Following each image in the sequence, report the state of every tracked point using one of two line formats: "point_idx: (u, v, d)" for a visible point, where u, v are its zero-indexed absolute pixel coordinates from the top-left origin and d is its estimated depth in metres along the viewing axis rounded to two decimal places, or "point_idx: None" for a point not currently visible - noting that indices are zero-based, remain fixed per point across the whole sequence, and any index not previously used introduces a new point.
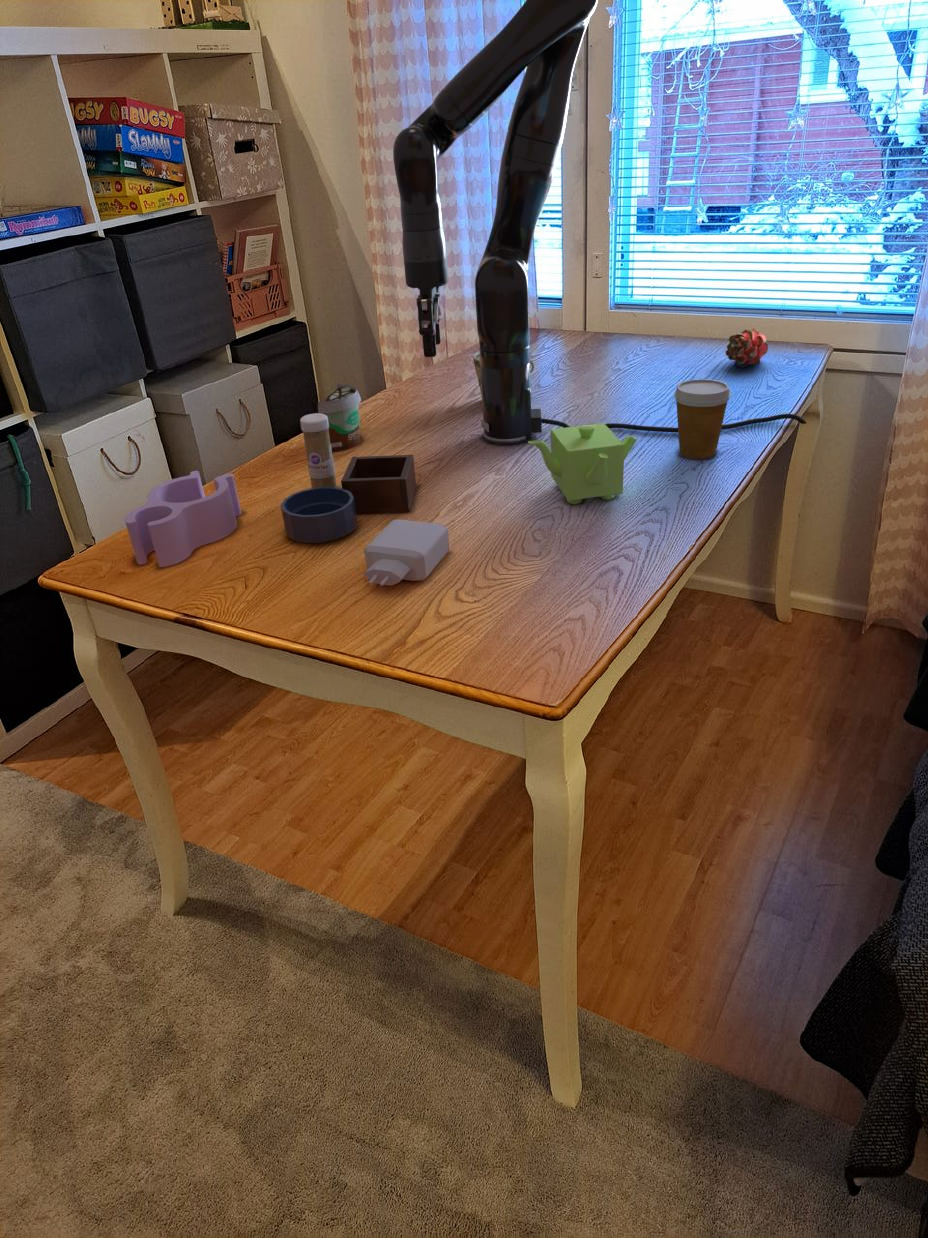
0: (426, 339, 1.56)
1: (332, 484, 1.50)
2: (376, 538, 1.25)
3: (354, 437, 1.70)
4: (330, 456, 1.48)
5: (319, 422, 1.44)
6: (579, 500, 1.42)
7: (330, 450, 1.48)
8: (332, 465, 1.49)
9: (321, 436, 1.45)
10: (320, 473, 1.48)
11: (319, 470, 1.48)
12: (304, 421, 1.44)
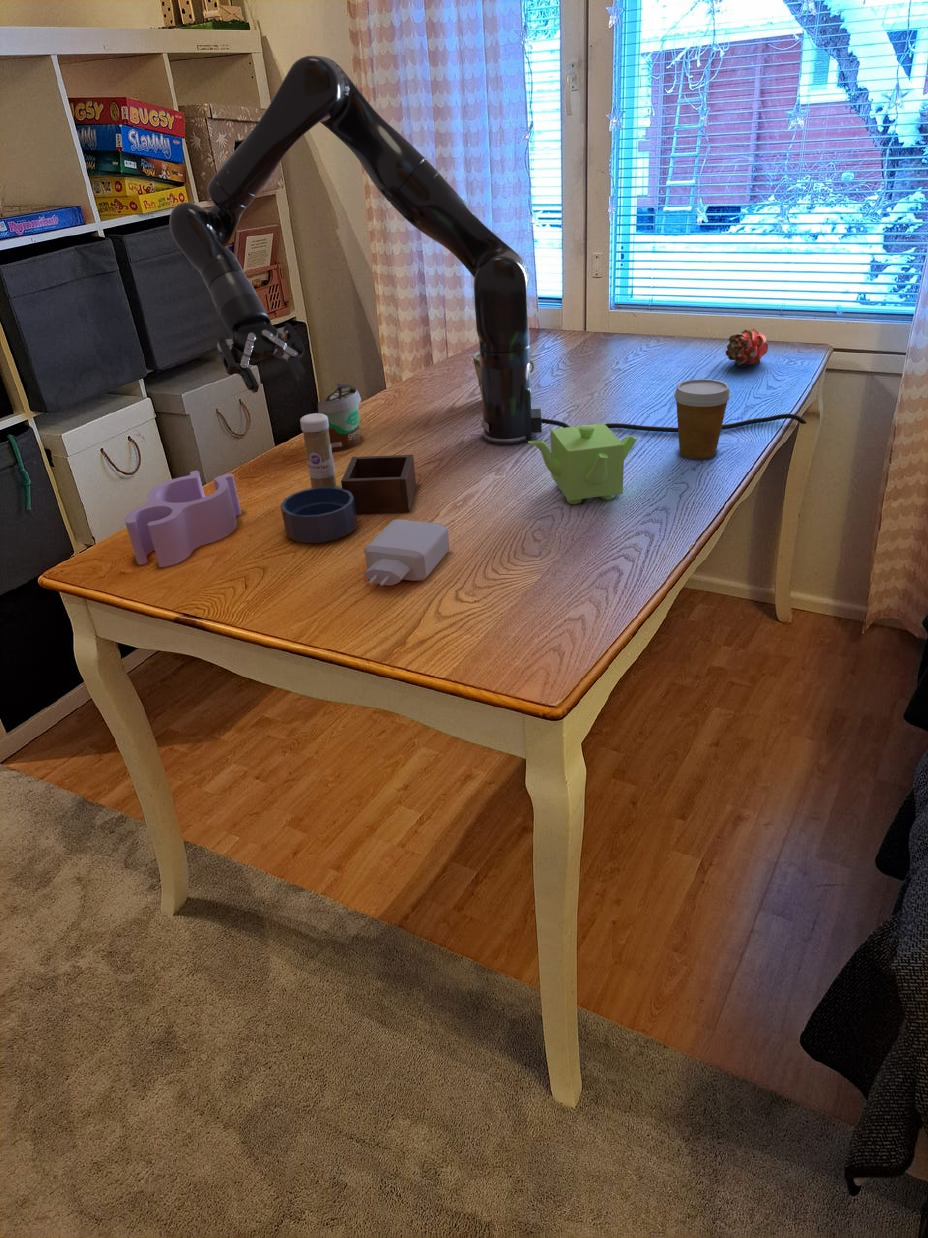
0: (242, 376, 1.50)
1: (332, 484, 1.50)
2: (376, 538, 1.25)
3: (354, 437, 1.70)
4: (330, 456, 1.48)
5: (319, 422, 1.44)
6: (579, 500, 1.42)
7: (330, 450, 1.48)
8: (332, 465, 1.49)
9: (321, 436, 1.45)
10: (320, 473, 1.48)
11: (319, 470, 1.48)
12: (304, 421, 1.44)
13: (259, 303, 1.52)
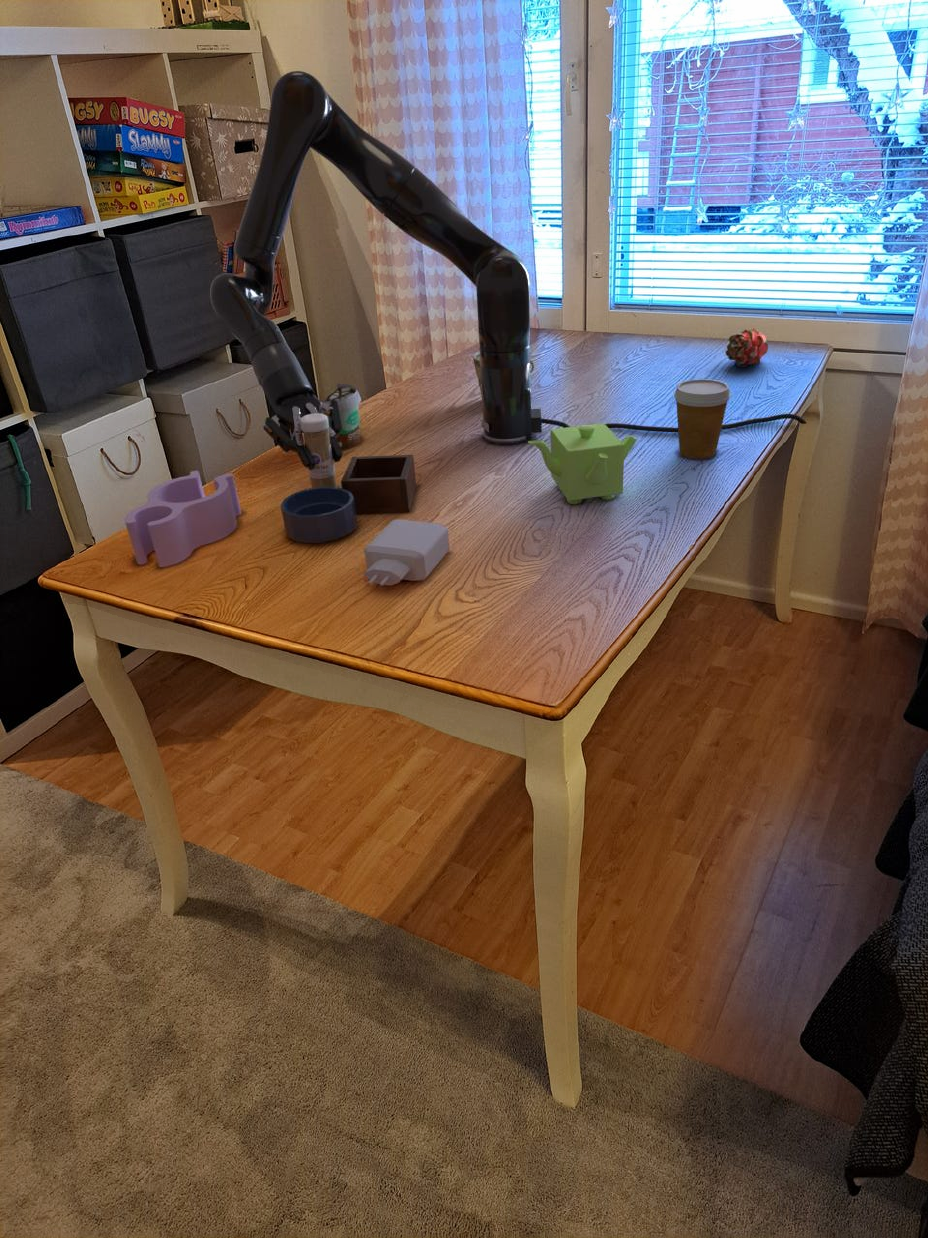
0: (298, 453, 1.47)
1: (332, 484, 1.50)
2: (376, 538, 1.25)
3: (354, 437, 1.70)
4: (330, 456, 1.48)
5: (319, 422, 1.44)
6: (579, 500, 1.42)
7: (330, 450, 1.48)
8: (332, 465, 1.49)
9: (321, 436, 1.45)
10: (320, 473, 1.48)
11: (319, 470, 1.48)
12: (304, 421, 1.44)
13: (303, 375, 1.48)
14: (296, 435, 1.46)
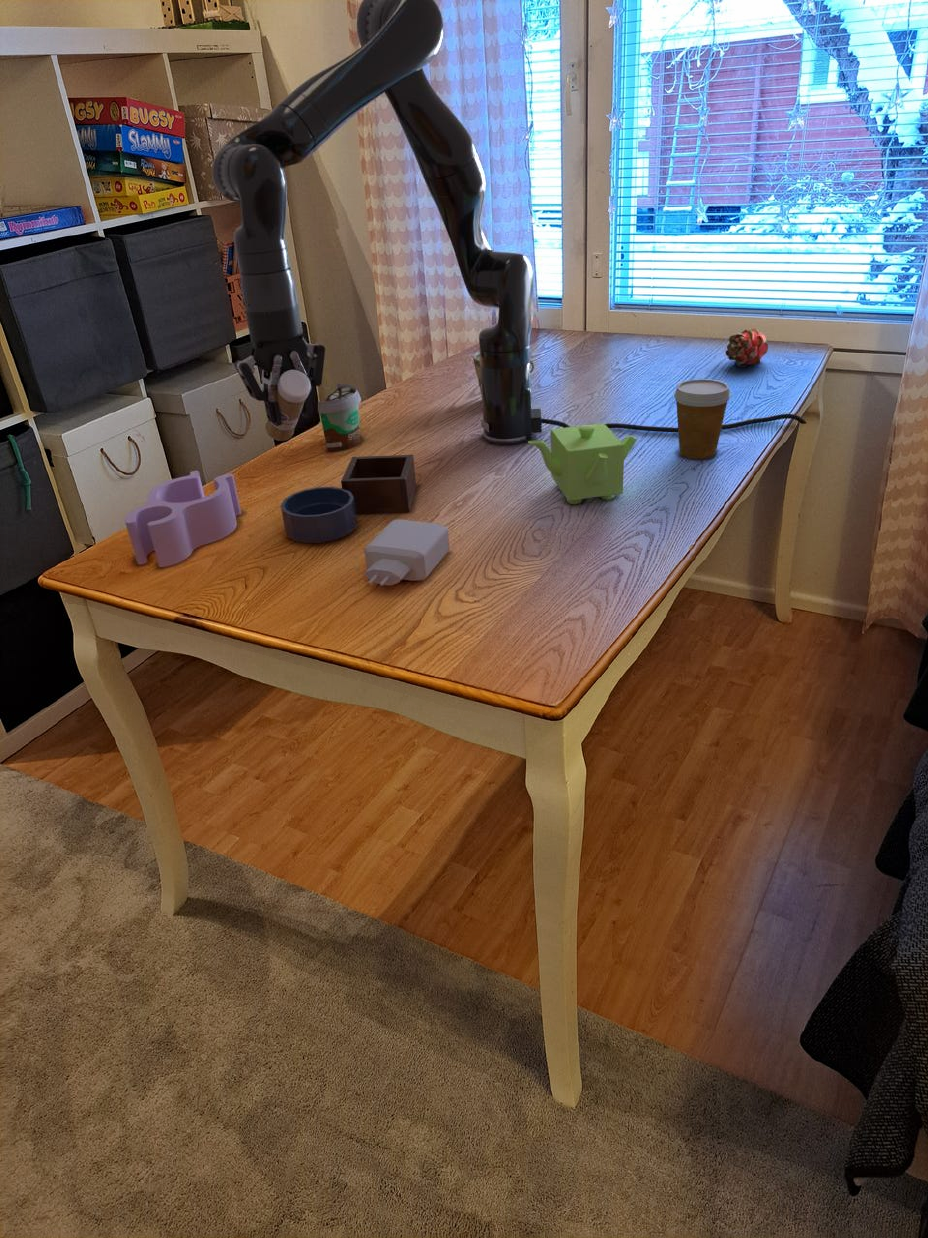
0: (265, 404, 1.30)
1: (290, 433, 1.37)
2: (376, 538, 1.25)
3: (354, 437, 1.70)
4: (299, 415, 1.33)
5: (301, 396, 1.27)
6: (579, 500, 1.42)
7: (301, 410, 1.33)
8: (297, 420, 1.35)
9: (297, 404, 1.29)
10: (283, 427, 1.34)
11: (282, 424, 1.34)
12: (284, 389, 1.26)
13: (297, 318, 1.25)
14: (270, 389, 1.28)
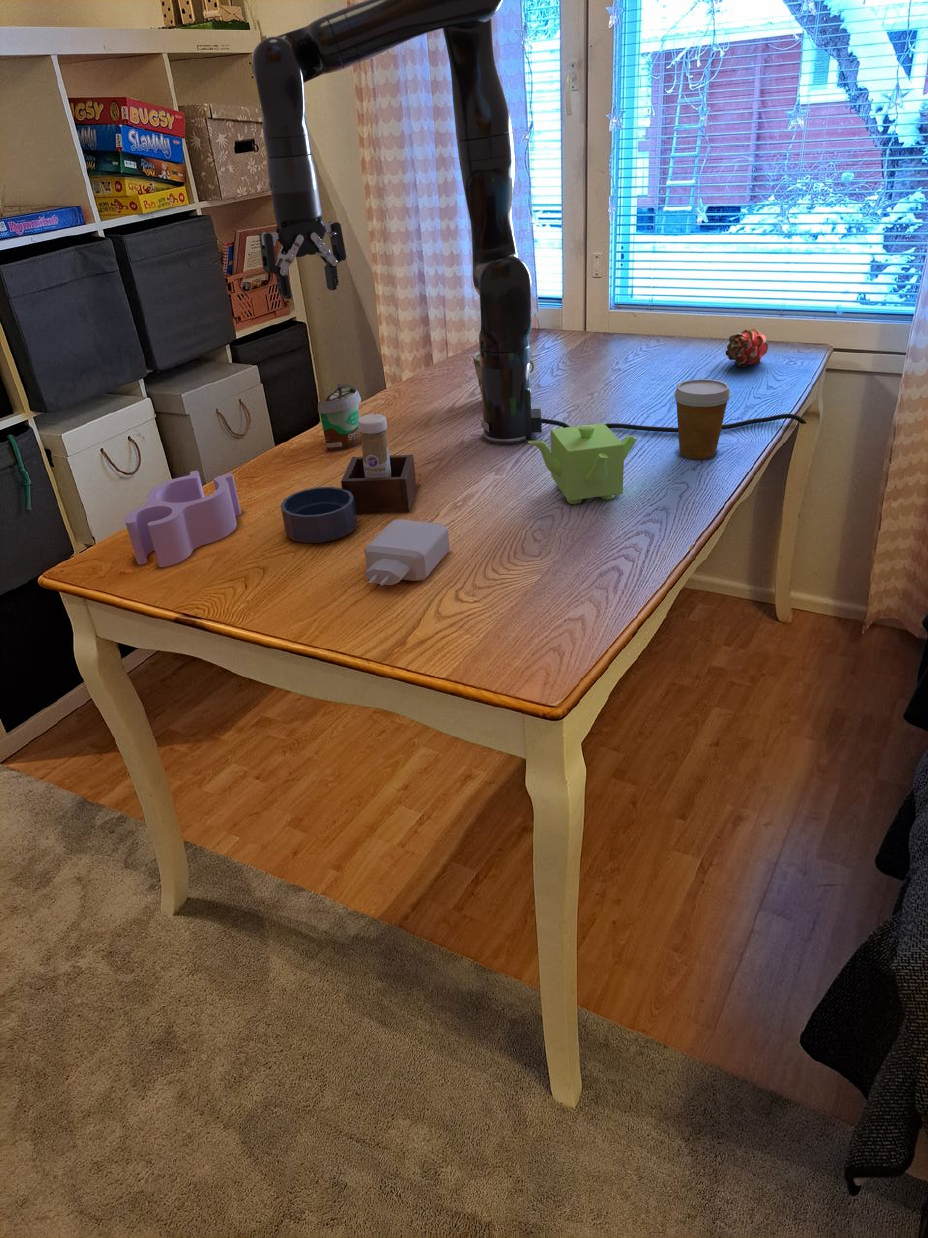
0: (277, 278, 1.44)
1: None
2: (376, 538, 1.25)
3: (354, 437, 1.70)
4: (387, 458, 1.43)
5: (378, 423, 1.39)
6: (579, 500, 1.42)
7: (387, 452, 1.43)
8: (389, 467, 1.44)
9: (379, 437, 1.40)
10: (377, 475, 1.43)
11: (376, 472, 1.43)
12: (362, 422, 1.39)
13: (317, 201, 1.40)
14: (284, 262, 1.43)
